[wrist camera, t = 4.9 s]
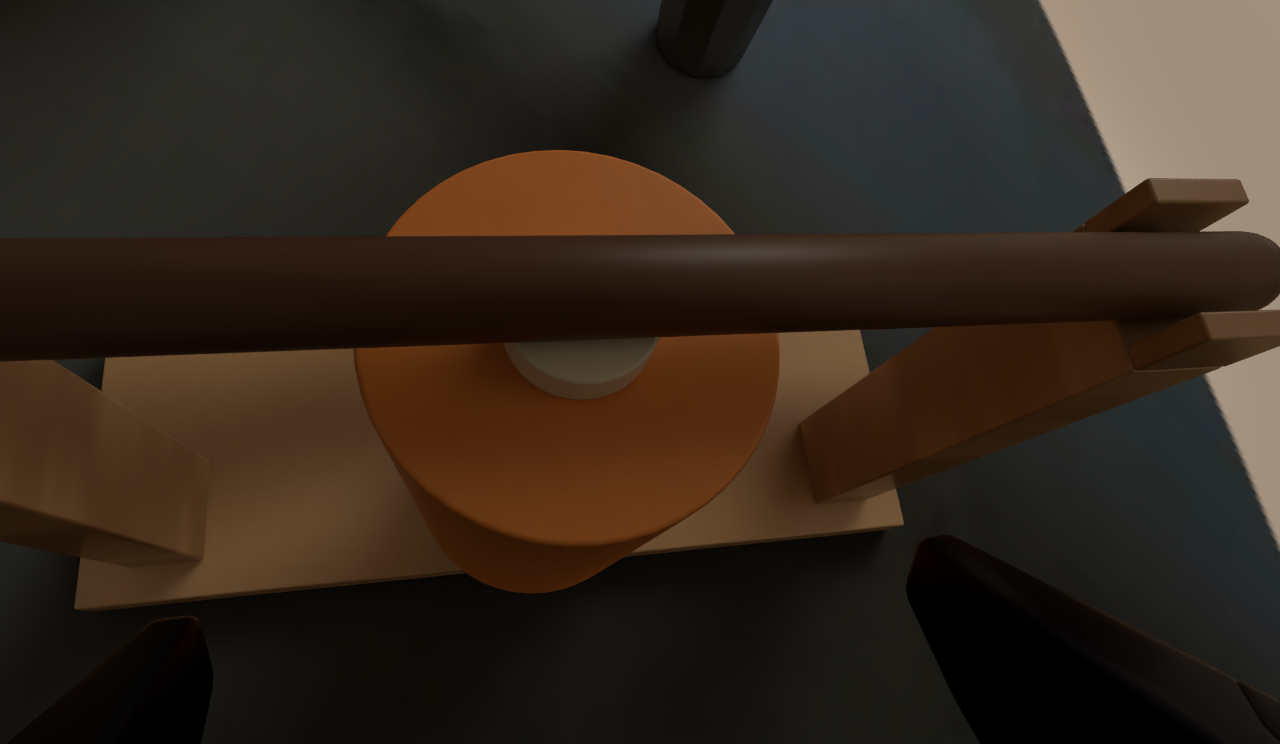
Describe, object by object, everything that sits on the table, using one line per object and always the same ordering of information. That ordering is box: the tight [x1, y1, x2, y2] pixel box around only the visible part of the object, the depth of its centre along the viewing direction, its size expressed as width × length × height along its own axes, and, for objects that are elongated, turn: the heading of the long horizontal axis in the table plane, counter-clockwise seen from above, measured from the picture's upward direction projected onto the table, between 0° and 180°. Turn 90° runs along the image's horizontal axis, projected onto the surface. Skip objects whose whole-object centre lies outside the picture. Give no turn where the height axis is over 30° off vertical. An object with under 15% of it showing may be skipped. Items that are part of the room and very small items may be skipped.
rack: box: [0, 178, 1280, 611], centre depth 15 cm, size 7×21×13 cm, turn 98°
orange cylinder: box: [0, 150, 1280, 593], centre depth 13 cm, size 6×20×11 cm, turn 98°
